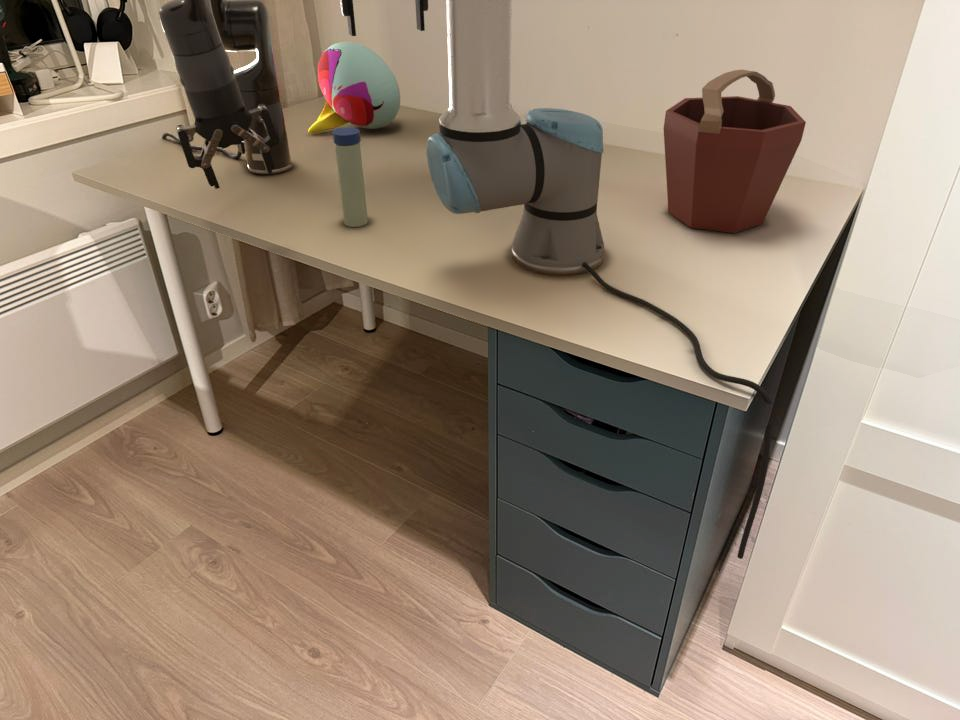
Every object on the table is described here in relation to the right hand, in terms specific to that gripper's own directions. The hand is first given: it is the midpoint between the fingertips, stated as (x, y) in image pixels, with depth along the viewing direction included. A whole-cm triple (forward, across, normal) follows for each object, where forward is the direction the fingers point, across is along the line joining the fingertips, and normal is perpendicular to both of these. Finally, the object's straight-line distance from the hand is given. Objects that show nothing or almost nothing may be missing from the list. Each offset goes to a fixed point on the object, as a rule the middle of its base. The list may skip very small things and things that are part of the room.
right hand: (387, 32), depth 136 cm
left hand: (+15, +33, +27) cm, 46 cm away
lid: (+12, +14, +22) cm, 29 cm away
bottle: (+28, +14, +22) cm, 39 cm away
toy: (+28, +1, -37) cm, 47 cm away
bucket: (+28, -48, +45) cm, 71 cm away
